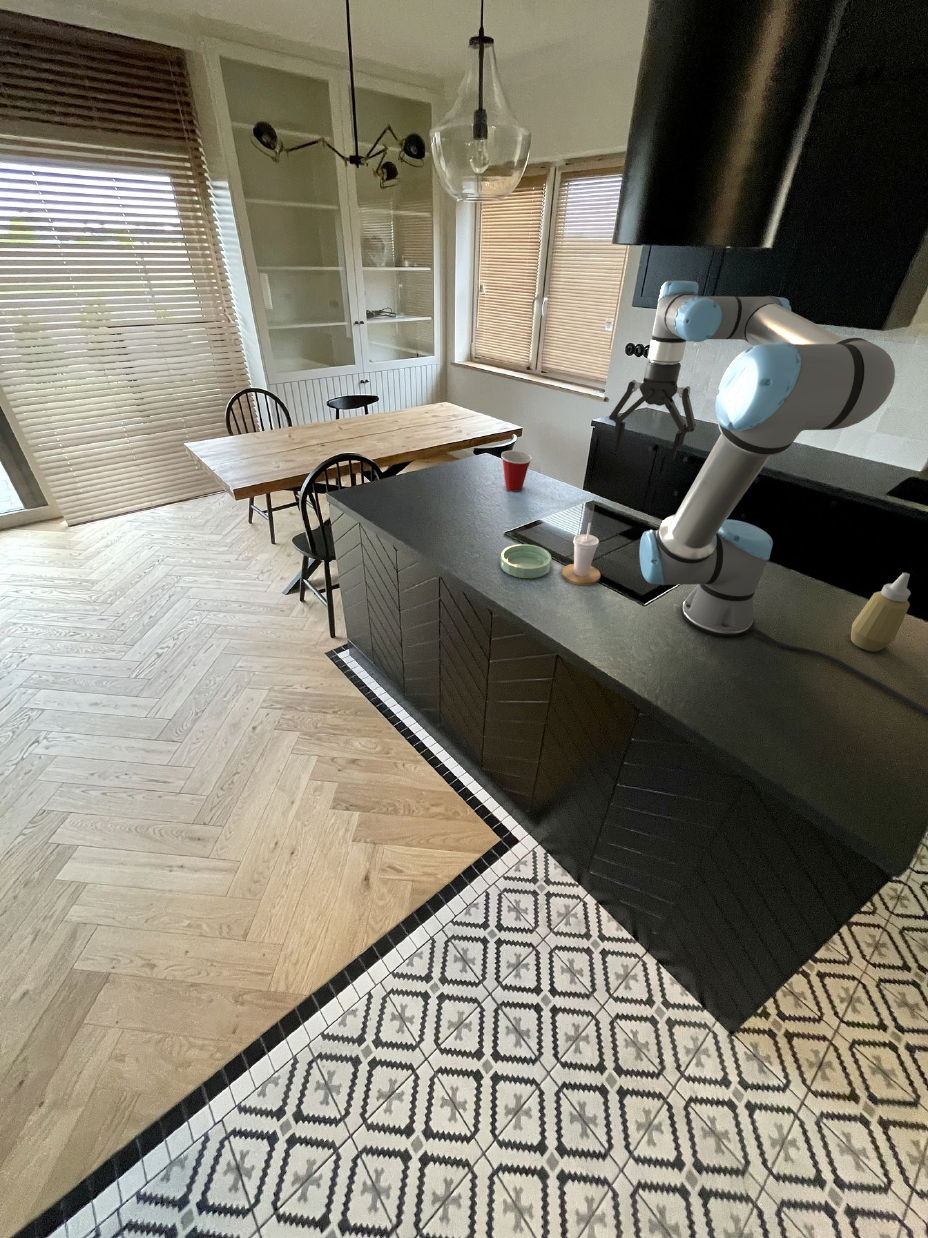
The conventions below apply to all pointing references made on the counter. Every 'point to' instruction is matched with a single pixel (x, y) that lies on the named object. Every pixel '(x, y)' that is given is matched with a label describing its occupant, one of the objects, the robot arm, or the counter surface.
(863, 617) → the squeeze bottle
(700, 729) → the counter surface
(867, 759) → the counter surface
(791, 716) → the counter surface
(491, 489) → the counter surface
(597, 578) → the coaster
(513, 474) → the plastic cup
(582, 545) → the smoothie
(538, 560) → the bowl
